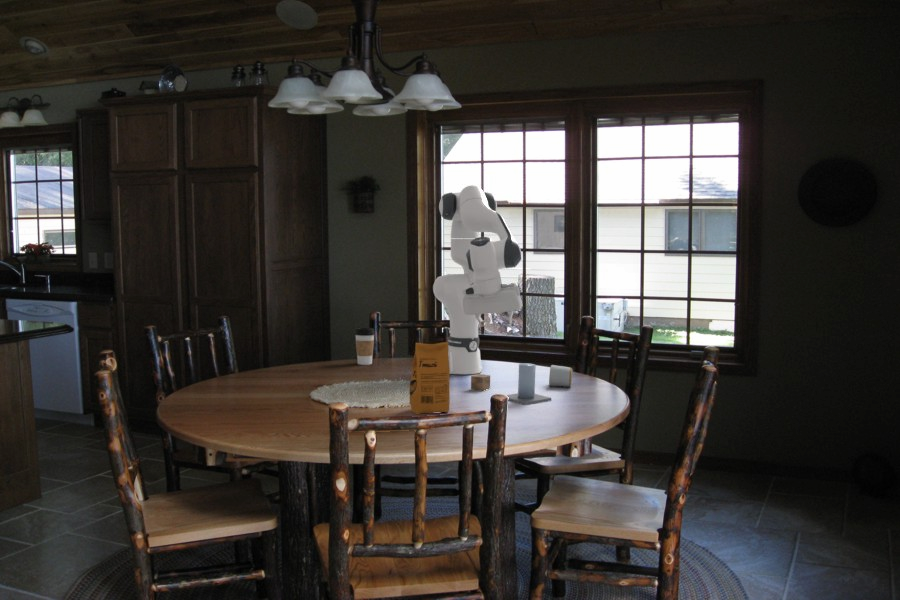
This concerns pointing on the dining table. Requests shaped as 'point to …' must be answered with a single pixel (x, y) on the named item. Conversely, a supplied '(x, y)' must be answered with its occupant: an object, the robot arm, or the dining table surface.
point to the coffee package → (430, 379)
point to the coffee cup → (364, 345)
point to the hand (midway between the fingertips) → (496, 324)
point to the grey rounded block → (560, 376)
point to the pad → (528, 401)
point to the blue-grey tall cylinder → (526, 381)
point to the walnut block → (480, 382)
